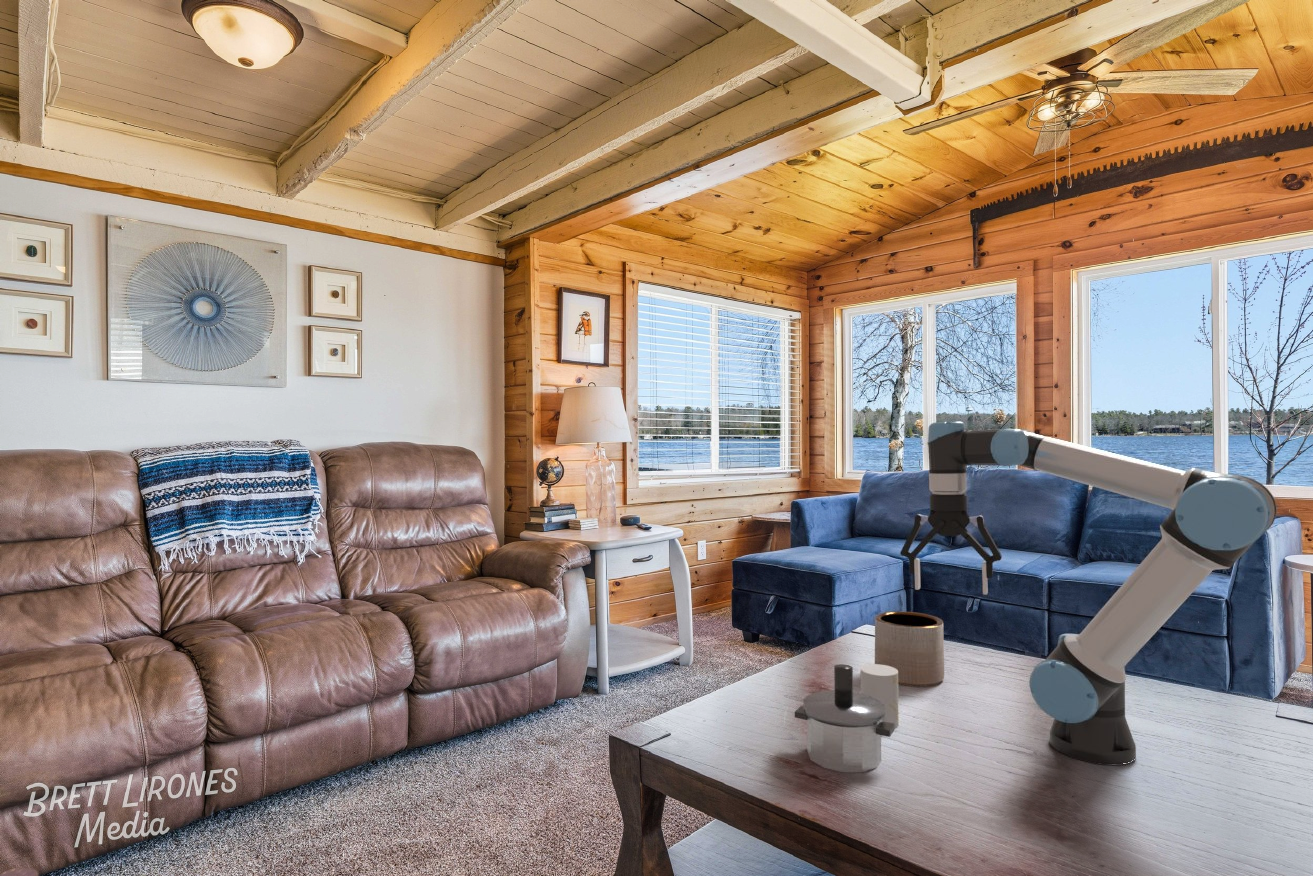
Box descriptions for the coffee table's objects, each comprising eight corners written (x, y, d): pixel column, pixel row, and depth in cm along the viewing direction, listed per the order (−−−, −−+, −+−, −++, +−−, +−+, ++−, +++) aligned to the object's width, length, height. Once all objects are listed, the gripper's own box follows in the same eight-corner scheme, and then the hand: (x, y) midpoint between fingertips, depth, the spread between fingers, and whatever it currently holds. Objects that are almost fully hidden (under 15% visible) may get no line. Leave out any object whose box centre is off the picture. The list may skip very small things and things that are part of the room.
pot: (900, 753, 145) (900, 709, 145) (883, 782, 133) (883, 733, 133) (809, 734, 155) (809, 692, 155) (786, 758, 143) (785, 714, 143)
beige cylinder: (900, 731, 156) (900, 676, 156) (862, 728, 158) (862, 674, 158) (896, 717, 164) (895, 665, 164) (859, 715, 166) (859, 663, 166)
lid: (893, 706, 147) (893, 662, 147) (873, 733, 133) (873, 685, 133) (817, 692, 155) (817, 651, 155) (792, 717, 141) (791, 671, 141)
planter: (861, 670, 198) (861, 613, 198) (915, 664, 203) (915, 609, 203) (901, 691, 181) (901, 629, 181) (959, 684, 186) (958, 624, 186)
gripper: (1012, 492, 152) (1015, 592, 151) (891, 491, 164) (894, 583, 163) (1011, 494, 145) (1014, 598, 145) (885, 493, 157) (888, 589, 157)
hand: (950, 591), depth 154 cm, fingers open, 13 cm apart
